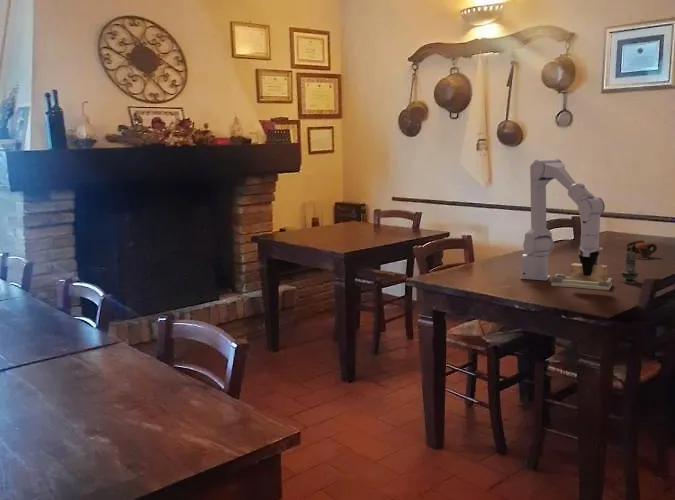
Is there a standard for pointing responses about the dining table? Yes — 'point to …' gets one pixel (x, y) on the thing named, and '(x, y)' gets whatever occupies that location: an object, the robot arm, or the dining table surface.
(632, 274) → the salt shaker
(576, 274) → the tan wooden block
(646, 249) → the pottery mug
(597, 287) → the cream rectangular tray
